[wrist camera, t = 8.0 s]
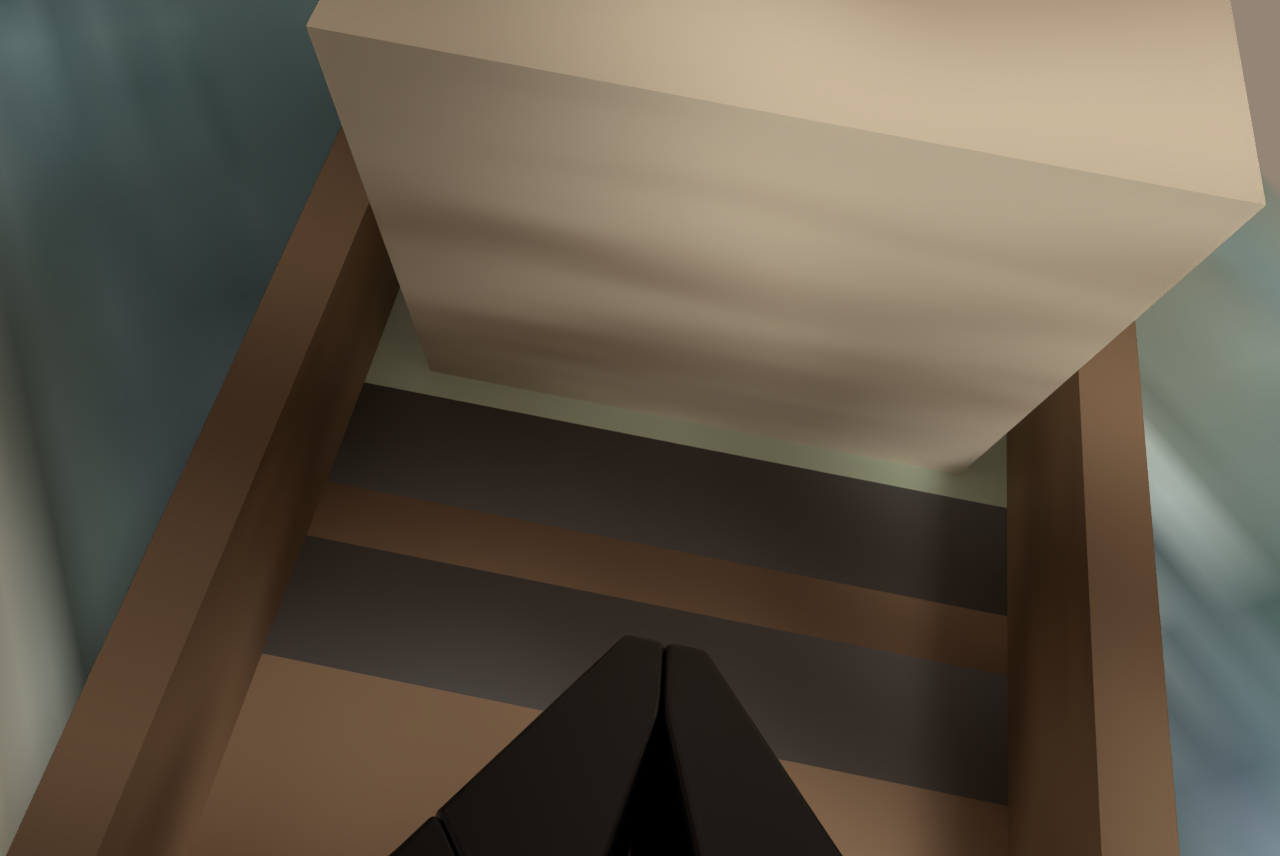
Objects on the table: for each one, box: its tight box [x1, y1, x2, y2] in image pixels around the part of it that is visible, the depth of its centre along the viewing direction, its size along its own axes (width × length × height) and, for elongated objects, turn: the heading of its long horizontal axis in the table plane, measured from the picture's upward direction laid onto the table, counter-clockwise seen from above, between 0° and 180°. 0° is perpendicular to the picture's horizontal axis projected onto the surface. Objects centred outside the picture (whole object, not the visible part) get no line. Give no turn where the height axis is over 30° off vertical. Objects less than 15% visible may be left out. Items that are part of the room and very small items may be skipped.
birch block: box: [306, 0, 1266, 475], centre depth 13 cm, size 8×10×8 cm
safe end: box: [365, 288, 1007, 508], centre depth 16 cm, size 10×14×4 cm
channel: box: [6, 126, 1180, 856], centre depth 13 cm, size 23×14×4 cm, turn 169°
